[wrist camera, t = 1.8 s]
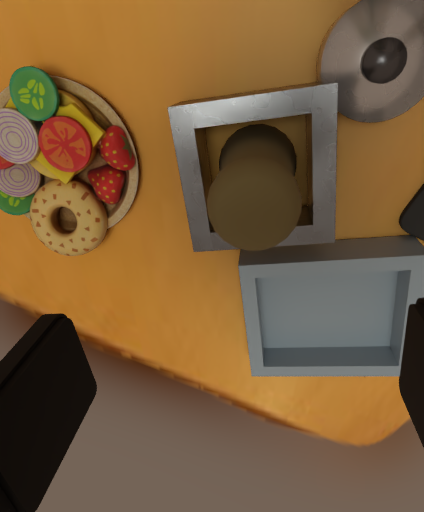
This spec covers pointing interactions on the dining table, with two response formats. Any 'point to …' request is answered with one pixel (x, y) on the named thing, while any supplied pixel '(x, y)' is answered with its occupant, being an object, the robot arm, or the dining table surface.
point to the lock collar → (313, 111)
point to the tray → (330, 306)
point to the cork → (255, 189)
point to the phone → (414, 215)
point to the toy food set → (64, 160)
